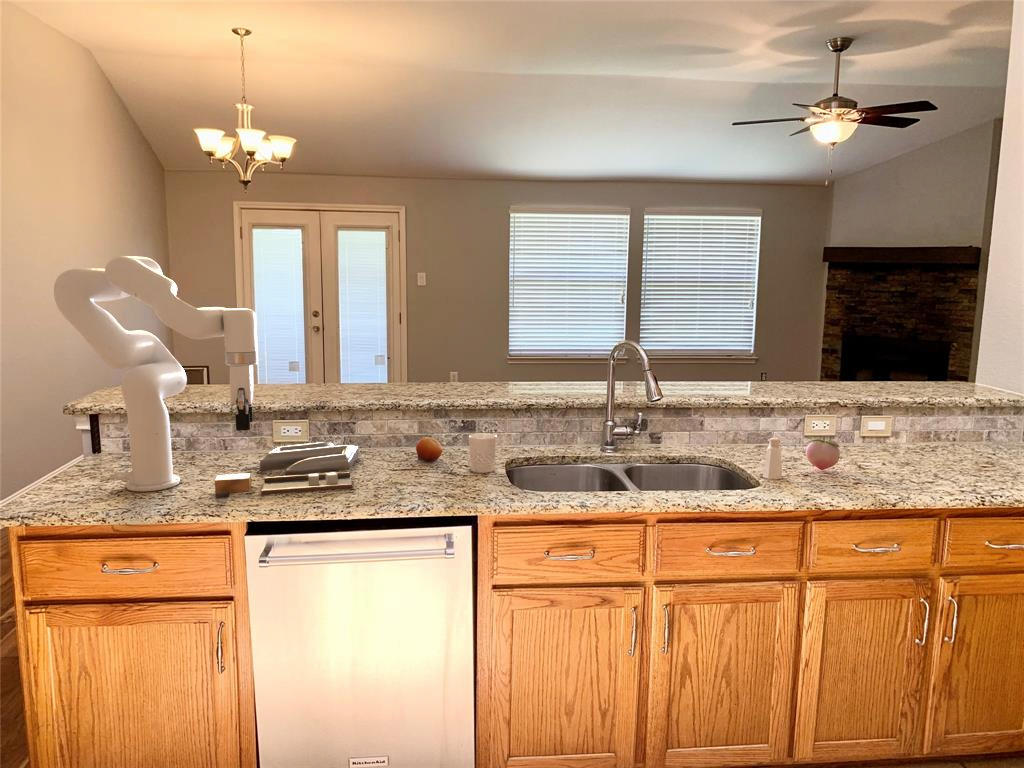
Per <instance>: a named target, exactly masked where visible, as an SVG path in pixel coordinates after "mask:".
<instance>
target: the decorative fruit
mask: <svg viewBox="0 0 1024 768" xmlns="http://www.w3.org/2000/svg"><path fill="white" fill-rule="evenodd" d="M806 443H807V444H808V445H807V446H806V449H805V458H806V459H807V461H808V462H809V463H810V464H811V465H812V466H814V467H816V468H817V469H818V470H820V471H824V470H827V469H830V468H832V467H834V466H836V464H838V462H839V460H840V456H841V453H840V448H841V446H840V445H839V443H838V442H836V441H833V440H827V439H826V436H823V439H820V438H812V439H810V440H808V441H807V442H806Z"/></svg>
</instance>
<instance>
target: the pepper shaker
mask: <svg viewBox="0 0 1024 768" xmlns="http://www.w3.org/2000/svg"><path fill="white" fill-rule="evenodd" d="M780 443H781V439H780V438H777V437H770V438H769V445H768V446H767V448H766V455H765V460H764V467H763V473H762V478H765V479H769V480H781V479H782V478H783V469H782V468H783V466H782V465H783V464H782V447H780Z"/></svg>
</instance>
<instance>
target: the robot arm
mask: <svg viewBox="0 0 1024 768" xmlns="http://www.w3.org/2000/svg"><path fill="white" fill-rule="evenodd" d="M53 285H54V286H53V297H54V302H55V304H56V307H57V309H58V310H59V312H60V313H61V315H62V316H63V317H64V319H66V320H67V321H68V322H69V323H70V324H71V325H72V326H73V327H74V329H76V330H77V332H78V333H79V334H80V335H81V336H82V337H83V338H84V340H85V341H86V342H87V343H88V345H89V346H90V347H91V348H92V349H93V350H94V352H95V353H96V354H97V355H98V356H99V358H100V359H101V360H102V361H103V363H104V364H105V365H107V366H108V367H109V368H111V369H113V370H127V369H128V370H127V371H126V372H125V373H124V374H123V376H122V377H121V381H120V390H121V394H122V397H123V401H124V404H125V409H126V415H127V426H128V427H127V428H128V441H129V455H130V466H131V468H130V469H127V470H124V471H122V470H119V471H117V470H116V471H114V472H113V480H116V481H125V480H126V481H127V482H125V489H127V490H129V491H132V492H154V491H155V492H156V491H162V490H166V489H170V488H172V487H175V486H177V485H178V484H180V482H181V478H180V476H179V475H176V474H174V470H173V468H174V467H173V453H172V439H171V438H172V437H171V436H172V435H171V425H170V424H171V422H170V415H169V411H168V409H167V407H166V404H165V403H164V400H163V399H166V398H167V399H168V398H171V397H173V396H177V395H179V394H180V393H182V392H183V391H184V390H185V388H186V386H187V382H188V378H187V374H186V372H185V370H184V368H183V367H182V365H181V363H180V362H179V361H178V360H177V359H176V357H175V356H173V354H172V353H171V352H170V351H169V350H168V348H167V347H166V346H165V345H164V343H163V342H162V341H161V340H160V339H159V338H158V337H157V336H156V335H154V334H152V333H151V332H149V331H146V330H126V329H125V328H123V326H122V325H121V324H120V323H119V322H118V321H117V320H116V318H115V317H114V316H113V315H112V314H111V313H110V312H109V311H107V310H106V309H104V308H103V307H101V306H99V305H98V304H97V303H96V302H112V301H118V300H123V299H125V298H129V297H132V298H133V299H135V300H137V301H138V302H140V303H142V304H144V305H145V306H148V307H149V308H151V309H152V310H153V312H154V314H155V316H156V317H157V318H158V319H159V320H160V322H161V323H163V324H164V325H165V326H167V327H168V328H169V329H172V330H173V331H175V332H176V333H178V334H179V335H182V336H184V337H186V338H189V339H192V340H204V339H205V340H206V339H212V338H213V339H215V338H221V337H223V340H224V342H223V343H224V361H225V362H224V363H225V366H228V367H229V402H230V403H229V404H230V406H232V407H234V405H235V414H234V415H235V430H236V431H238V432H240V431H250V429H251V423H252V422H253V421H254V417H253V415H254V414H253V406H252V403H253V401H254V389H255V388H254V366H256V365H259V358H258V338H257V337H258V336H257V315H256V312H255V311H254V310H253V309H250V308H226V307H221V306H212V307H210V306H209V307H198V308H197V307H195V306H193V305H191V304H189V303H187V302H185V301H184V300H182V299H181V298H179V297H177V292H178V286H177V284H176V283H175V281H174V280H172V279H170V278H168V276H167V277H166V276H165V275H164V274H163V271H162V267H161V266H160V265H159V264H158V263H157V262H156V261H155V260H154V259H153V258H149V257H146V256H131V255H121V256H120V255H119V256H116V257H113V258H112V259H110V260H109V261H108V262H107V263H106V265H105V267H104V268H97V267H96V268H93V267H90V268H89V267H78V268H72V269H67V270H65V271H63V272H61V273H60V274H59V275H58V276H57V277H56V279H55V281H54V284H53Z"/></svg>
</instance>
